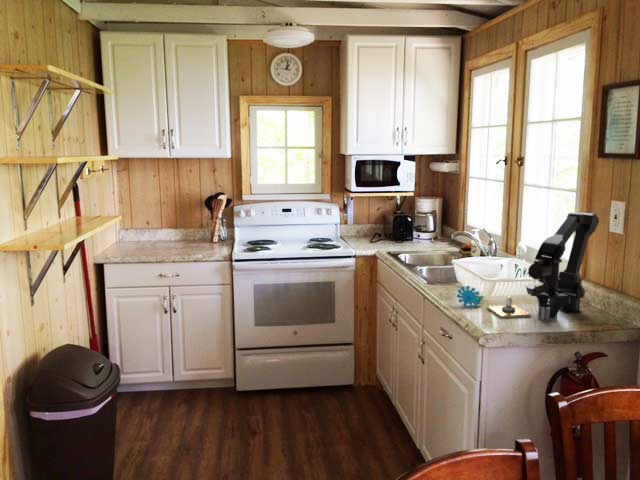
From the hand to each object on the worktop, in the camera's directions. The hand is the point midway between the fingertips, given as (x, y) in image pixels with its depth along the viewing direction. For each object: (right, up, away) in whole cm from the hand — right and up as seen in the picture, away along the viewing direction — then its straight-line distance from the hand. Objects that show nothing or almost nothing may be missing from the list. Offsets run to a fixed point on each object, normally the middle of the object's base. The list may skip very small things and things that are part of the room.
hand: (547, 315), depth 207 cm
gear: (-25, +1, +17) cm, 30 cm away
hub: (0, -1, 0) cm, 1 cm away
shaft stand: (-12, 0, +8) cm, 14 cm away
